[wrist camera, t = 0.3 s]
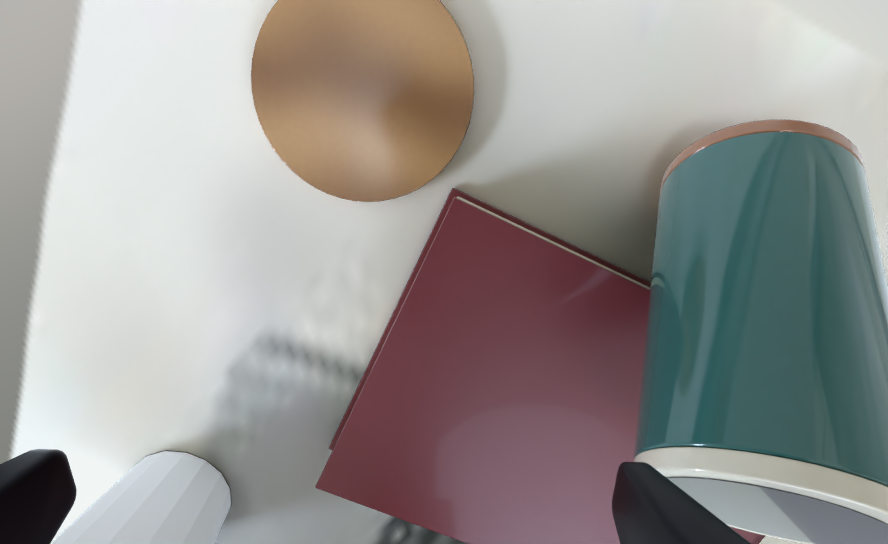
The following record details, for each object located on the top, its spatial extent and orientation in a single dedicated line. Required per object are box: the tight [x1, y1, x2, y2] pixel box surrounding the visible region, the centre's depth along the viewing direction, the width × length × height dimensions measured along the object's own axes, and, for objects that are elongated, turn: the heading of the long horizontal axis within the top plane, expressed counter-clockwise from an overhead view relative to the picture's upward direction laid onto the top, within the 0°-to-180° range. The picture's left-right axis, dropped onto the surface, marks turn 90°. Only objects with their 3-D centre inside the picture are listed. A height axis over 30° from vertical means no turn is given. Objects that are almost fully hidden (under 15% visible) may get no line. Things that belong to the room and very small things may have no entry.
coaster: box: [251, 0, 474, 202], centre depth 19 cm, size 9×9×1 cm
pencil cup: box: [633, 120, 888, 544], centre depth 16 cm, size 13×7×13 cm, turn 155°
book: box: [316, 188, 765, 544], centre depth 23 cm, size 15×21×3 cm
